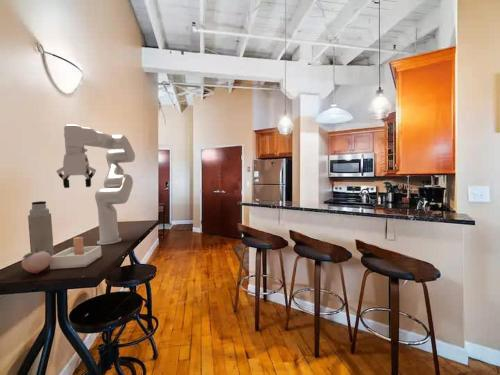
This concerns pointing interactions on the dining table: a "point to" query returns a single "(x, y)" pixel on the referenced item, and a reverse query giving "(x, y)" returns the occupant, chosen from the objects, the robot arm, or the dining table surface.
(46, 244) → the thermos bottle
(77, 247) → the peg
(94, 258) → the tub
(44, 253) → the decorative fruit
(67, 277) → the dining table surface
